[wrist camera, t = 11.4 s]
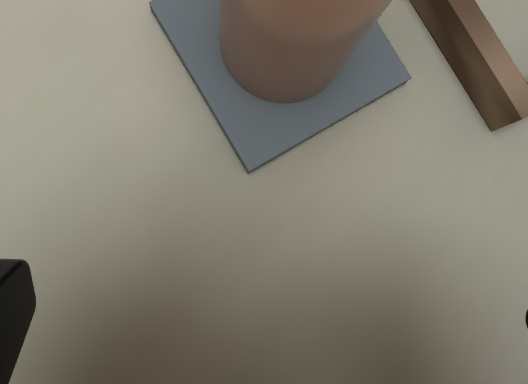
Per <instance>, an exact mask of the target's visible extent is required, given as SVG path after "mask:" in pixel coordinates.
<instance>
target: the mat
mask: <svg viewBox="0 0 528 384" xmlns="http://www.w3.org/2000/svg"><path fill="white" fill-rule="evenodd" d="M149 4H150V8H151V10H152V12H153V14H154V16H155V17H156V19H157V21H158V22H159V24H160V26H161V27H162V29H163V31H164V32H165V34H166V36H167V37H168V39H169V41H170V42H171V44H172V46H173V48H174V49H175V51H176V53H177V54H178V56H179V58H180V59H181V61H182V63H183V64H184V66H185V68H186V69H187V71H188V73H189V75H190V76H191V78H192V80H193V81H194V83H195V85H196V86H197V88H198V90H199V91H200V93H201V95H202V96H203V98H204V100H205V101H206V103H207V105H208V107H209V108H210V110H211V112H212V113H213V115H214V117H215V118H216V120H217V122H218V123H219V125H220V127H221V128H222V130H223V132H224V134H225V135H226V137H227V139H228V140H229V142H230V144H231V145H232V147H233V149H234V150H235V152H236V154H237V155H238V157H239V159H240V160H241V162H242V164H243V166H244V167H245V169H246V171H247V172H248V173H250V172H252V171H253V170H255V169H257V168H259V167H260V166H262V165H264V164H266V163H267V162H269V161H271V160H272V159H274V158H276V157H278V156H279V155H281V154H283V153H285V152H286V151H288V150H290V149H292V148H293V147H295V146H297V145H299V144H300V143H302V142H304V141H305V140H307V139H309V138H311V137H312V136H314V135H316V134H318V133H319V132H321V131H323V130H325V129H326V128H328V127H330V126H331V125H333V124H335V123H337V122H338V121H340V120H342V119H344V118H345V117H347V116H349V115H351V114H352V113H354V112H356V111H358V110H359V109H361V108H363V107H364V106H366V105H368V104H370V103H371V102H373V101H375V100H377V99H378V98H380V97H382V96H384V95H385V94H387V93H389V92H390V91H392V90H394V89H396V88H397V87H399V86H401V85H403V84H404V83H406V82H407V81H408V80H410V79H411V76H410V75H409V73H408V71H407V70H406V68H405V66H404V65H403V63H402V62H401V60H400V58H399V57H398V55H397V54H396V52H395V50H394V49H393V47H392V45H391V44H390V42H389V41H388V39H387V37H386V36H385V34H384V32H383V31H382V29H381V28H380V26H379V24H378V23H377V21H376V23H375V24H374V25H373V27H372V28H371V29H370V31H369V32H368V33H367V35H366V36H365V37H364V39H363V40H362V41H361V43H360V44H359V45H358V47H357V48H356V49H355V51H354V52H353V54H352V55H351V56H350V58H349V59H348V60H347V62H346V63H345V64H344V66H343V67H342V68H341V70H340V71H339V72H338V74H337V75H336V76H335V78H334V79H333V80H332V82H331V83H330V84H329V85H328V86H327V87H326V88H325V89H324V90H323V91H321V92H320V93H318V94H317V95H315V96H313V97H311V98H309V99H307V100H304V101H301V102H295V103H274V102H269V101H266V100H263V99H260V98H258V97H256V96H254V95H252V94H250V93H249V92H247V91H246V90H244V89H243V88H242V87H241V86H240V85H239V84H238V83H237V82H236V81H235V80H234V79H233V77H232V76H231V75H230V73H229V72H228V70H227V68H226V66H225V64H224V61H223V58H222V55H221V50H220V40H219V39H220V0H152V1H150V2H149Z"/></svg>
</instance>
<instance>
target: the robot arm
mask: <svg viewBox="0 0 528 384" xmlns="http://www.w3.org/2000/svg"><path fill="white" fill-rule="evenodd" d="M35 307H36V296H35V291H34V286H33V281H32V276H31V271H30V267H29V265H28V263H27V262H26V261H25V260H22V259H0V384H9V381H10V378H11V376H12V373H13V370H14V367H15V364H16V362H17V359H18V356H19V353H20V351H21V348H22V345H23V342H24V340H25V337H26V334H27V331H28V329H29V326H30V323H31V320H32V318H33V315H34V312H35ZM526 325H527V328H528V310H527V312H526Z"/></svg>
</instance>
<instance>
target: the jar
mask: <svg viewBox="0 0 528 384" xmlns="http://www.w3.org/2000/svg"><path fill="white" fill-rule="evenodd" d="M391 1H392V0H220V39H219V40H220V50H221V55H222V58H223V61H224V64H225V66H226V68H227V70H228V72H229V73H230V75H231V76H232V77H233V79H234V80H235V81H236V82H237V83H238V84H239V85H240V86H241V87H242V88H243V89H244V90H246V91H247V92H249V93H250V94H252V95H254V96H256V97H258V98H260V99H263V100H266V101H269V102H274V103H295V102H301V101H304V100H307V99H309V98H311V97H313V96H315V95H317V94H318V93H320V92H321V91H323V90H324V89H325V88H326V87H327V86H328V85H329V84H330V83H331V82H332V80H333V79H334V78H335V76H336V75H337V74H338V72H339V71H340V70H341V68H342V67H343V66H344V64H345V63H346V62H347V60H348V59H349V58H350V56H351V55H352V54H353V52H354V51H355V49H356V48H357V47H358V45H359V44H360V43H361V41H362V40H363V39H364V37H365V36H366V35H367V33H368V32H369V31H370V29H371V28H372V27H373V25H374V24H375V23H376V21H377V20H378V18H379V17H380V16H381V14H382V13H383V12H384V10H385V9H386V8H387V6H388V5H389V4H390V2H391Z"/></svg>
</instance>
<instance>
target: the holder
mask: <svg viewBox="0 0 528 384" xmlns="http://www.w3.org/2000/svg"><path fill="white" fill-rule="evenodd" d="M410 1H411V3H412V4H413V6H414V7H415V9H416V11H417V12H418V14H419V15H420V17H421V19H422V20H423V22H424V23H425V25H426V27H427V28H428V30H429V31H430V33H431V35H432V36H433V38H434V40H435V41H436V43H437V44H438V46H439V48H440V49H441V51H442V52H443V54H444V56H445V57H446V59H447V60H448V62H449V64H450V65H451V67H452V68H453V70H454V72H455V73H456V75H457V77H458V78H459V80H460V81H461V83H462V85H463V86H464V88H465V89H466V91H467V93H468V94H469V96H470V97H471V99H472V101H473V102H474V104H475V105H476V107H477V109H478V110H479V112H480V114H481V115H482V117H483V118H484V120H485V122H486V123H487V125H488V126H489V128H490V130H491V131H493V130H496V129H498V128H501V127H504V126H506V125H509V124H511V123H514V122H516V121H519V120H521V119H523V118H525V117H527V116H528V83H526V81H525V79H524V78H523V76H522V75H521V73H520V72H519V70H518V68H517V67H516V65H515V64H514V62H513V60H512V59H511V57H510V56H509V54H508V52H507V51H506V49H505V48H504V46H503V44H502V43H501V41H500V40H499V38H498V37H497V35H496V33H495V32H494V30H493V29H492V27H491V25H490V24H489V22H488V21H487V19H486V17H485V16H484V14H483V13H482V11H481V9H480V8H479V6H478V5H477V3H476V2H475V0H410Z"/></svg>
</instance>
